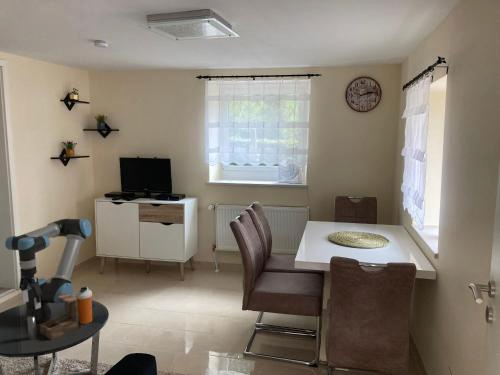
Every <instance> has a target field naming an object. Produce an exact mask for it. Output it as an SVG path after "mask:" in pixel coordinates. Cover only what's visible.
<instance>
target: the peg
mask: <svg viewBox="0 0 500 375" xmlns="http://www.w3.org/2000/svg"><path fill="white" fill-rule="evenodd" d="M26 324H27V332H28V333H27V334H28V339H29V340H30V341H31V340H36V339H37V336H38V335H37V323H36V322H35V316H34V315H32V316H28V317H27V323H26Z"/></svg>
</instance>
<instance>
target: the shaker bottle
mask: <svg viewBox="0 0 500 375" xmlns="http://www.w3.org/2000/svg"><path fill="white" fill-rule="evenodd" d="M75 298H77V307H78V320H79V324H81V325H87V324H89V322H90V323H91V322H92V321H93V292H92V290H91V289H89V287H88V286H84V287H79V290H78V291H77V292H76V293H75Z"/></svg>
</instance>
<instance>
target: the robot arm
mask: <svg viewBox="0 0 500 375" xmlns="http://www.w3.org/2000/svg"><path fill="white" fill-rule="evenodd" d="M92 231H93V228H92V224H91V221H90V220H88V219H86V218H85V219H84V218H62V219H59V220H55V221H53V222H49V223H48V224H47V225H46V226H43V227H40V228H37V229H35V230H32V231H28V232H27V233H23V234H20V235H12V236H9V237H7V238H6V240H5V243H4V244H5V248H6V249H7V250H10V251H18V260H19V262H18V265H19V268H20V269H19V272H20V280H19V286H18V289H19V290H21V296H22V297H21V298H22V303H23V304H24V303H25V312H24V316H23V321H24V323H26V324H28V323H27V317H28V316H32V315H34V316H35V322H36V324H38V323H40V324H41V323H43V322H45V321H46V322H47V321H49V320H50V319H51V318H52V317H53V311H52V308H51V307H50V305H49V304H56V305H57V304H58V305H59V304H65V301H63V300H61V299H59V298H57V296H59V295H62V294H65V293H66V294H68V295H71V296H73V293H74V286H73V284H72V283H73V282H72V280H71V277H72V274H73V270H74V268H75V264H76V261H77V259H78V256H79V252H80V250H81V246H82V244H83V243H84V242H85V241H86V238H89V237H91V235H92V233H93V232H92ZM58 237H65V238H66V243H65V246H64V249H63V251H62V254H61V258H60V260H59V263H58V266H57V269H56V272H55V275H54V276H52V277H51V279H50V282H47V279H46V278H38V277H35V275H36V274H37V273H38V271H37V258H36V253H39V252H40V251H43V250H45V249H47V248H48V247H49V246H50V244H51V240H50V239H51V238H52V239H53V238H58Z"/></svg>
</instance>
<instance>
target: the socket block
mask: <svg viewBox="0 0 500 375" xmlns="http://www.w3.org/2000/svg"><path fill="white" fill-rule="evenodd" d="M57 298H59V299H61V300H63V301H65V303H64V311H65V312H64V313H65V314H64V315H62V316H60V317H57V318H54V319H52V320H47V321H46V322H44V323H43V322H42V323H40V324H39V330H40V334H41V335H43V336H45V337H46V338H48V339H49V340H50V341H51V340H55V339H56V338H58V337H59V338H60V337H62V336H63V335H66V334H68V333H71V332H74V331H77V330H78V329H80V323H79V316H78V307H77V298H76V296H75V297H74V296H73V295H72V296H71V295H68V294H66V293H65V294H62V295H59V296H57Z"/></svg>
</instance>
